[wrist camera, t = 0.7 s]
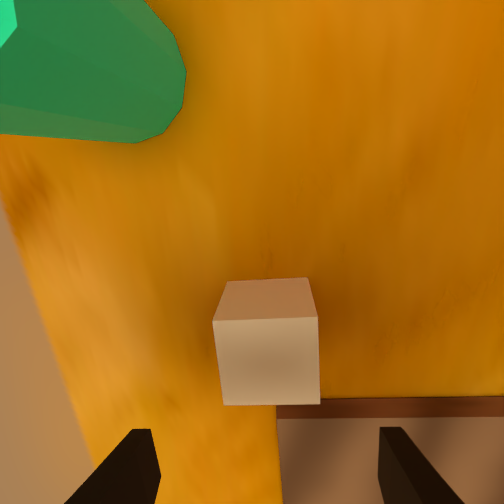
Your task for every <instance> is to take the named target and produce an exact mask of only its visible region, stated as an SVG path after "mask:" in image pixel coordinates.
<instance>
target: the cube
mask: <svg viewBox="0 0 504 504" xmlns="http://www.w3.org/2000/svg"><path fill="white" fill-rule="evenodd" d="M212 323H213V331H214V338H215V345H216V352H217V359H218V367H219V374H220V381H221V388H222V396H223V403H224V405H297V404H320V376H319V339H318V315H317V311H316V307H315V304H314V300H313V296H312V292H311V288H310V284H309V280H308V277H302V278H283V279H264V280H244V281H227V284H226V286H225V289H224V292H223V294H222V297H221V299H220V302H219V305H218V307H217V310H216V312H215V315H214V318H213V320H212Z"/></svg>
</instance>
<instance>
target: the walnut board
mask: <svg viewBox="0 0 504 504" xmlns="http://www.w3.org/2000/svg"><path fill="white" fill-rule="evenodd" d="M380 427H402V428H403V429H404V430H405V432H406V433H407V434H408V435H409V437H410V438H411V439H412V441H413V442H414V443H415V445H416V446H417V447H418V448H419V450H420V451H421V452H422V453H423V455H424V456H425V457H426V458H427V460H428V461H429V462H430V463H431V464H432V466H433V467H434V468H435V469H436V471H437V472H438V473H439V474H440V475H441V477H442V478H443V479H444V480H445V481H446V482H447V484H448V485H449V486H450V487H451V488H452V489H453V491H454V492H455V493H456V494H457V495H458V496H459V497H460V499H461V500H462V501H463V502H464V503H465V504H504V396H498V397H433V398H369V399H320V404H297V405H277V431H278V443H279V456H280V468H281V481H282V493H283V504H384V501H383V497H382V493H381V489H380V485H379V481H378V453H379V429H380Z"/></svg>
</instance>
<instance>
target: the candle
mask: <svg viewBox="0 0 504 504" xmlns="http://www.w3.org/2000/svg"><path fill="white" fill-rule="evenodd" d="M185 79H186V69H185V66H184V63H183V60H182V57H181V54H180V52H179V49H178V46H177V43H176V40H175V37H174V35H173V34H172V33H171V31H170V30H169V29H168V28H167V27H166V26H165V24H164V23H163V22H162V21H161V20H160V19H159V17H158V16H157V15H156V14H155V13H154V12H153V11H152V9H151V8H150V7H149V6H148V5H147V4H146V2H145V1H144V0H0V134H10V135H24V136H38V137H52V138H66V139H80V140H94V141H108V142H122V143H138V142H140V141H143V140H146V139H148V138H151V137H154V136H156V135H159V134H162V133H163V132H164V131H165V130H166V128H167V127H168V126H169V124H170V123H171V122H172V120H173V119H174V117H175V116H176V115H177V113H178V112H179V111H180V109H181V108H182V103H183V95H184V87H185Z"/></svg>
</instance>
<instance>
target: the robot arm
mask: <svg viewBox="0 0 504 504" xmlns="http://www.w3.org/2000/svg"><path fill="white" fill-rule="evenodd" d="M160 479H161V472H160V468H159V464H158V459H157V455H156V451H155V447H154V442H153V438H152V434H151V429H132V430H131V431H130V432H129V433H128V434H127V435H126V437H125V438H124V439H123V440H122V441H121V442H120V443H119V444H118V445H117V446H116V448H115V449H114V450H113V451H112V452H111V453H110V454H109V455H108V457H107V458H106V459H105V460H104V461H103V462H102V463H101V464H100V465H99V467H98V468H97V469H96V470H95V471H94V472H93V473H92V474H91V475H90V476H89V477H88V479H87V480H86V481H85V482H84V483H83V484H82V485H81V486H80V487H79V488H78V489H77V490H76V492H75V493H74V494H73V495H72V496H71V497H70V498H69V499H68V500H67V501H66V502H65V503H64V504H154V503H155V499H156V496H157V492H158V487H159V483H160ZM378 481H379V485H380V489H381V493H382V497H383V501H384V504H465V503H464V502H463V501H462V500H461V499H460V497H459V496H458V495H457V494H456V493H455V492H454V491H453V489H452V488H451V487H450V486H449V485H448V484H447V482H446V481H445V480H444V479H443V478H442V477H441V475H440V474H439V473H438V472H437V471H436V469H435V468H434V467H433V466H432V464H431V463H430V462H429V461H428V460H427V458H426V457H425V456H424V455H423V453H422V452H421V451H420V450H419V448H418V447H417V446H416V445H415V443H414V442H413V441H412V439H411V438H410V437H409V435H408V434H407V433H406V432H405V430H404V429H403V428H402V427H380V429H379V453H378Z"/></svg>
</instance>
